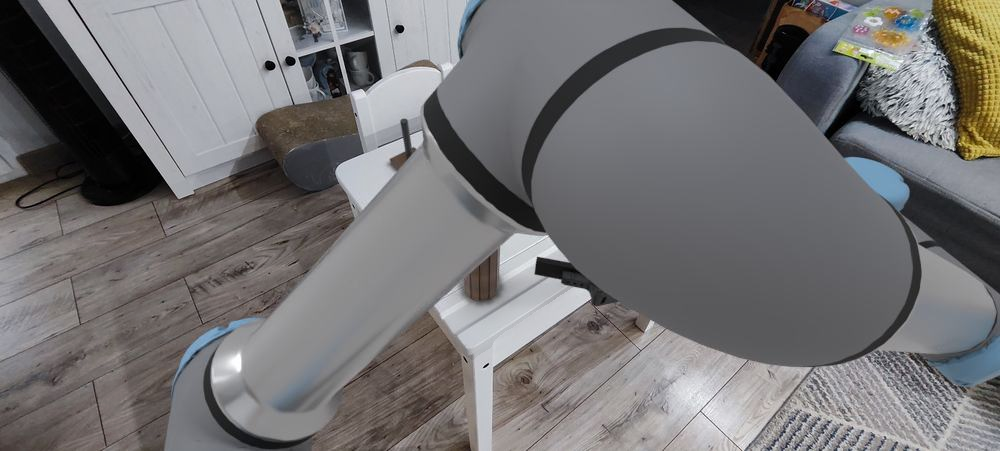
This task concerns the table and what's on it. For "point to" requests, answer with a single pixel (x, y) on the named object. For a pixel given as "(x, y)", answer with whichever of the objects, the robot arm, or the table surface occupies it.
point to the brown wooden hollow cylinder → (484, 279)
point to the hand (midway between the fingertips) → (543, 225)
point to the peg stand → (404, 156)
